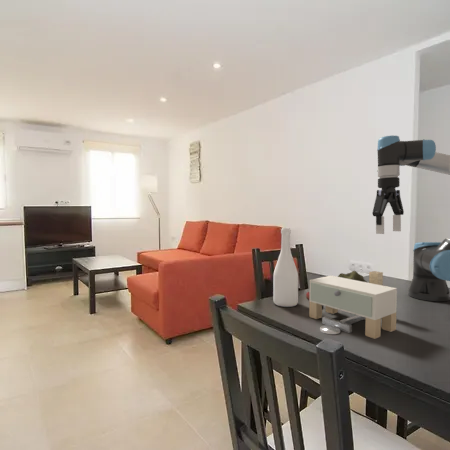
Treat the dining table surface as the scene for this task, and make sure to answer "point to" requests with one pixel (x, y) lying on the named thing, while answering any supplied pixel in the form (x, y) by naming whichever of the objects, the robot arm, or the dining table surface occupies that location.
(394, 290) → the cabinet
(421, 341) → the dining table surface
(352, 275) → the decorative rock
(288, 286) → the wine bottle
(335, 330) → the steel disc
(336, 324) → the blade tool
